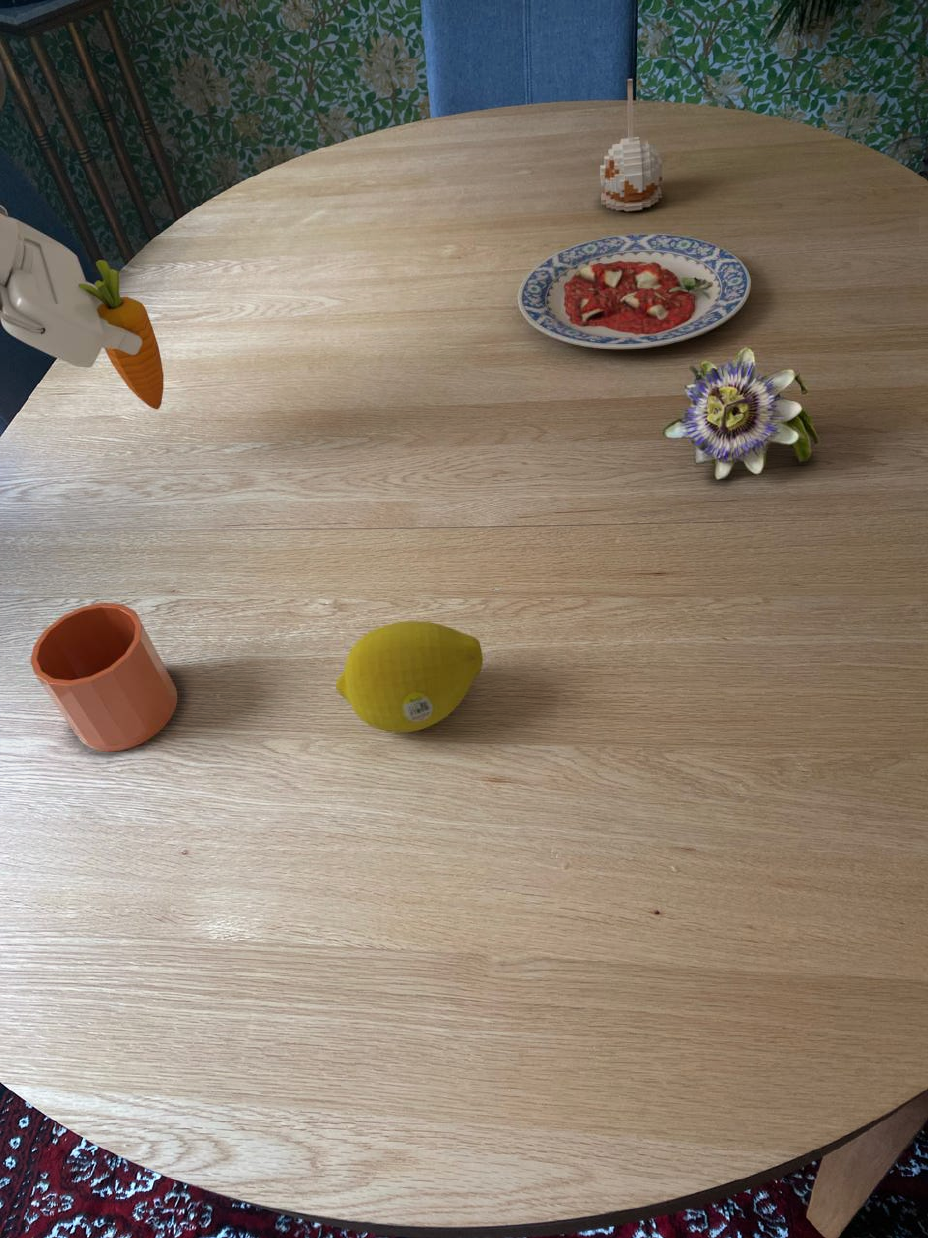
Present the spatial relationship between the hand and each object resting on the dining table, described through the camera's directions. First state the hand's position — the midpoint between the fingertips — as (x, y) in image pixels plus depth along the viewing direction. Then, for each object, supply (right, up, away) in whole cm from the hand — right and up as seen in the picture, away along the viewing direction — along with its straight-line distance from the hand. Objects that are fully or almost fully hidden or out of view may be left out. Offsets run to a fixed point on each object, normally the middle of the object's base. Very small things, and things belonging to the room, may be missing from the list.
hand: (132, 330), depth 93 cm
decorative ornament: (+54, +28, +38) cm, 71 cm away
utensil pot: (+4, -34, -14) cm, 38 cm away
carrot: (+1, -6, +6) cm, 9 cm away
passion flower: (+57, -12, -2) cm, 58 cm away
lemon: (+28, -34, -18) cm, 48 cm away
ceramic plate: (+51, +9, +19) cm, 55 cm away
